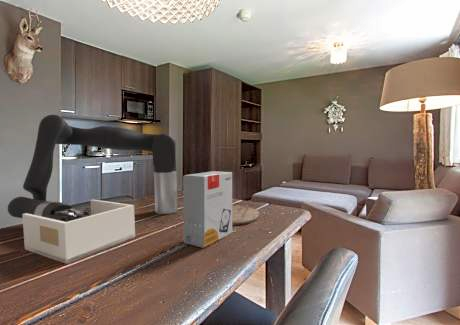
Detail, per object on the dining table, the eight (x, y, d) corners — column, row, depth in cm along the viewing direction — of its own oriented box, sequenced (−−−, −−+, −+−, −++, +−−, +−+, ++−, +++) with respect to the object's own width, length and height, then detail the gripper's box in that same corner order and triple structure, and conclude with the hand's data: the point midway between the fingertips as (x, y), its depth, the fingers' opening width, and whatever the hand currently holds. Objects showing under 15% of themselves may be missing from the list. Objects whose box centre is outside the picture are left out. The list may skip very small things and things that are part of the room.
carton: (135, 236, 82) (134, 205, 81) (65, 264, 63) (63, 223, 63) (94, 227, 91) (93, 199, 91) (23, 249, 73) (21, 214, 72)
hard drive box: (203, 249, 72) (202, 176, 70) (182, 243, 76) (181, 175, 74) (233, 232, 85) (232, 171, 83) (214, 228, 89) (213, 170, 87)
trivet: (258, 209, 115) (258, 205, 115) (259, 228, 90) (259, 222, 90) (202, 209, 117) (202, 205, 117) (188, 226, 92) (188, 221, 92)
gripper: (29, 206, 78) (63, 212, 70) (73, 198, 89) (107, 202, 81) (31, 231, 78) (65, 240, 70) (75, 219, 90) (108, 226, 82)
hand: (87, 220), depth 76 cm, fingers closed
